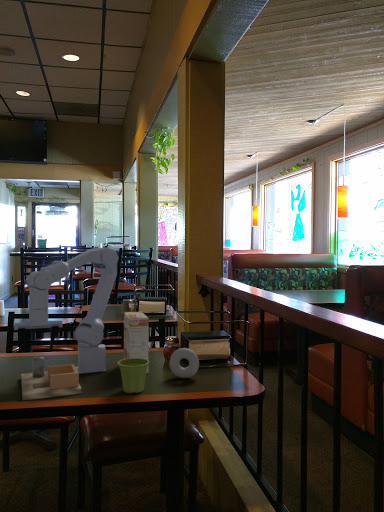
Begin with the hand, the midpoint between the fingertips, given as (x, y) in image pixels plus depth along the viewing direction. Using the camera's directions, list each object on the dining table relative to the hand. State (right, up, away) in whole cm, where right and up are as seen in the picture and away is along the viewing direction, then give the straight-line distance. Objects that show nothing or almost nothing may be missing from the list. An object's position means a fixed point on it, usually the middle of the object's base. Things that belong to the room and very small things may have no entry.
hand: (38, 350), depth 133 cm
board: (+5, -10, -4) cm, 12 cm away
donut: (+47, -10, +5) cm, 48 cm away
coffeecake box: (+29, -10, +16) cm, 35 cm away
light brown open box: (+9, -8, -7) cm, 14 cm away
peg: (0, -8, 0) cm, 8 cm away
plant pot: (+32, -10, -8) cm, 34 cm away
